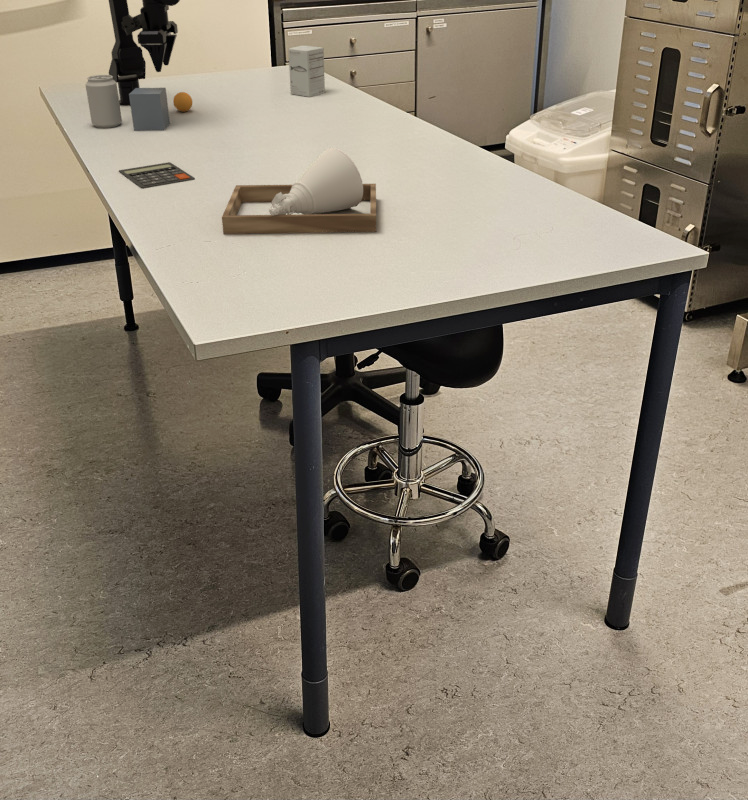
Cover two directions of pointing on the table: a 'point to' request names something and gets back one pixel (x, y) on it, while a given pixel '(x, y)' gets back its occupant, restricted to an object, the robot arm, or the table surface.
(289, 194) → the rocket engine
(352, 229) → the wooden tray
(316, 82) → the supplement box
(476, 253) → the table surface
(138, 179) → the calculator
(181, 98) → the ball
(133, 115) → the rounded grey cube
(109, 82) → the can
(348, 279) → the table surface
